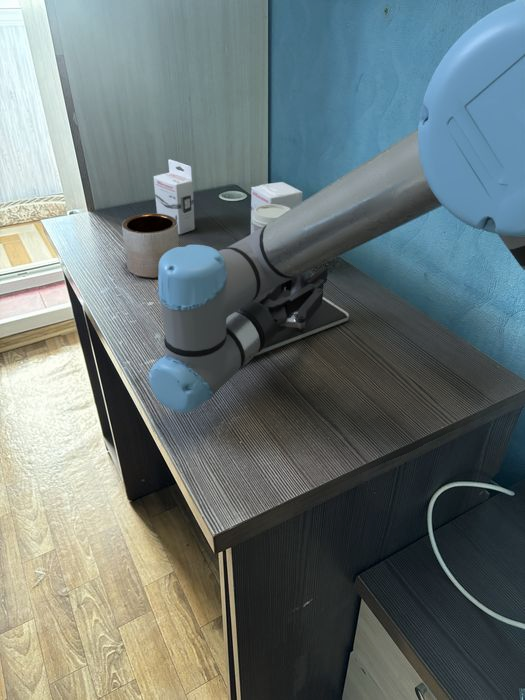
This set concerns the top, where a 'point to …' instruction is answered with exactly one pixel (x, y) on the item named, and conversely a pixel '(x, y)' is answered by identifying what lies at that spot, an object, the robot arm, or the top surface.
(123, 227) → the planter
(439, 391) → the top surface
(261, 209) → the coffee cup
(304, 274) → the grey metal rod
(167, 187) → the ink box
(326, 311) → the smartphone
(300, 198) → the ink box
